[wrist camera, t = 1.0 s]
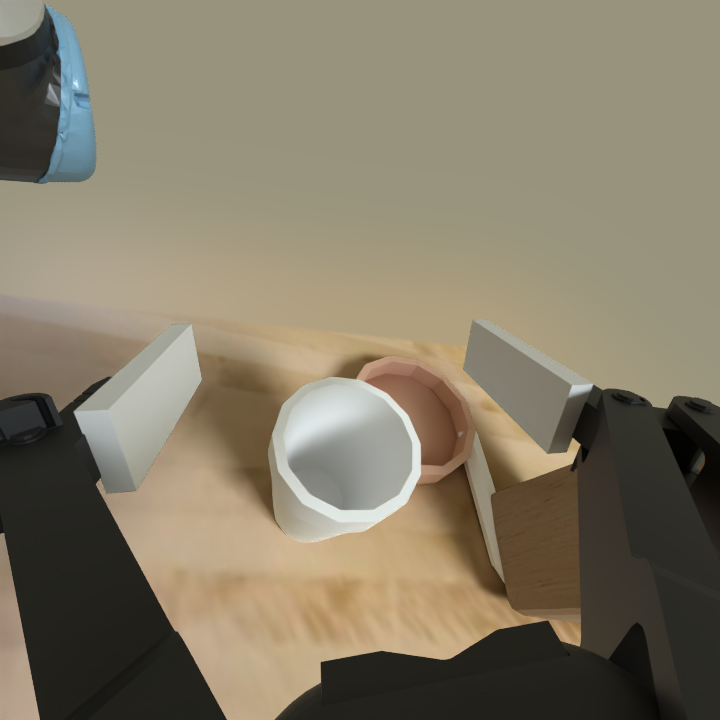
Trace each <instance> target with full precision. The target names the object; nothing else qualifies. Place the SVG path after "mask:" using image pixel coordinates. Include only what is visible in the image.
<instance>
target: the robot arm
mask: <svg viewBox="0 0 720 720" xmlns="http://www.w3.org/2000/svg"><path fill="white" fill-rule="evenodd" d="M89 102H90V97H89V90H88V81H87V76H86V70H85V66H84V61H83V56H82V52H81V48H80V44H79V41H78V38H77V35H76V32H75V29H74V27H73V25H72V23H71V22H70V21H69V19H68V18H66V16H64V15H62V14H61V13H59V12H57V11H55V10H54V9H52V8H50V6H47V5H44V1H43V0H0V180H8V181H9V180H10V181H22V182H34V183H39V184H43V183H47V182H81V181H85V180H87V179H89V178H90V177H91V176H92V174H93V173H94V171H95V167H96V140H95V129H94V121H93V114H92V110H91V107H90V104H89ZM463 370H464V371H465V372H466V373H467V374H468V375H469V376H470V377H471V378H472V379H473V380H474V381H475V382H476V383H477V384H478V385H479V386H480V387H481V388H482V389H483V390H484V391H485V392H486V393H487V394H488V395H489V396H490V397H491V398H492V399H493V400H494V401H495V402H496V403H497V404H498V405H499V406H500V407H501V408H502V409H503V410H504V411H505V412H506V413H507V414H508V415H509V416H510V417H511V418H512V419H513V420H514V421H515V422H516V423H517V424H518V425H519V426H520V427H521V428H522V429H523V430H524V431H525V432H526V433H527V434H528V435H529V436H530V437H531V438H532V439H533V440H534V441H535V442H536V443H537V444H538V445H539V446H540V447H541V448H542V449H543V450H544V451H545V452H546V453H547V454H551V453H563V452H567V450H568V447H569V445H570V442H571V440H572V437H573V438H574V439H575V440H576V441H577V442H578V443H580V444H581V445H580V448H579V450H578V453H577V455H576V457H575V460H574V462H573V465H572V467H571V469H570V471H572V472H574V470H575V469H577V480H578V522H579V563H580V605H581V644H580V647H579V646H575V645H572V644H568V643H565V642H562V641H560V640H559V638H558V636H557V635H556V633H555V631H554V630H553V628H552V626H551V625H550V623H549V621H543V622H537V623H532V624H526V625H521V626H515V627H510V628H504V629H499V630H496V631H495V632H493V633H491V634H490V635H488V636H487V637H485V638H483V639H482V640H480V641H478V642H477V643H475V644H474V645H472V646H470V647H469V648H467V649H466V650H464V651H462V652H461V653H459V654H458V655H456V656H454V657H453V658H451V659H447V660H440V659H433V658H426V657H419V656H412V655H406V654H399V653H392V652H385V651H379V652H373V653H368V654H362V655H357V656H351V657H346V658H340V659H335V660H330V661H324V662H321V683H320V684H318V685H316V686H315V687H313V688H311V689H309V690H308V691H306V692H305V693H304V694H302V695H301V696H300V697H298V698H297V699H296V700H294V701H293V702H292V703H291V704H290V705H289V706H288V707H287V708H286V709H285V710H284V711H283V712H282V713H281V714H280V715H279V716H278V717H277V718H276V719H275V720H720V407H718V406H716V405H714V404H712V403H711V402H709V401H706V400H703V399H700V398H692V397H686V396H676V397H674V398H673V399H672V401H671V403H670V405H669V407H668V409H664V408H656V407H653V406H652V404H651V403H650V402H648V400H646V399H645V398H643V397H641V396H638V395H637V394H634V393H632V392H629V391H625V390H619V389H605V390H601V389H600V388H598V387H596V386H595V385H593V384H592V383H591V382H589V381H587V380H586V379H584V378H582V377H581V376H579V375H577V374H575V373H574V372H572V371H571V370H569V369H567V368H566V367H564V366H563V365H561V364H559V363H558V362H556V361H554V360H553V359H551V358H549V357H548V356H546V355H544V354H543V353H541V352H539V351H538V350H536V349H534V348H533V347H531V346H529V345H528V344H526V343H524V342H523V341H521V340H520V339H518V338H516V337H515V336H513V335H511V334H510V333H508V332H506V331H504V330H503V329H501V328H500V327H498V326H496V325H495V324H493V323H491V322H490V321H488V320H472V325H471V331H470V336H469V341H468V346H467V351H466V356H465V362H464V367H463ZM201 381H202V377H201V372H200V367H199V362H198V357H197V352H196V346H195V341H194V336H193V331H192V326H191V324H172V325H171V326H170V327H168V328H167V329H166V330H165V331H164V332H163V333H162V334H161V335H159V336H158V337H157V338H156V339H155V340H154V341H153V342H152V343H150V344H149V345H148V346H147V347H146V348H145V349H144V350H143V351H141V352H140V353H139V354H138V355H137V356H136V357H135V358H134V359H132V360H131V361H130V362H129V363H128V364H127V365H126V366H124V367H123V368H122V369H121V370H120V371H119V372H118V373H117V374H115V375H114V376H113V377H107V378H105V379H103V380H101V381H99V382H97V383H95V384H93V385H91V386H90V387H89V388H88V389H87V390H85V391H84V392H83V393H82V395H79V396H78V397H77V398H76V399H75V400H74V402H71V403H70V404H69V405H67V406H66V407H65V408H64V409H63V410H62V411H60V412H59V413H58V411H57V409H56V406H55V404H54V402H53V400H52V397H51V396H49V395H48V394H43V393H31V394H23V395H18V396H13V397H9V398H6V399H3V400H0V534H1V533H4V534H5V539H6V544H7V550H8V555H9V560H10V565H11V571H12V576H13V581H14V586H15V591H16V597H17V602H18V607H19V612H20V617H21V623H22V628H23V633H24V638H25V643H26V649H27V654H28V659H29V664H30V669H31V675H32V680H33V685H34V690H35V695H36V701H37V706H38V711H39V716H40V720H227V719H226V717H225V716H224V714H223V712H222V710H221V708H220V706H219V705H218V703H217V701H216V699H215V697H214V695H213V694H212V692H211V690H210V688H209V686H208V684H207V683H206V681H205V679H204V677H203V675H202V673H201V672H200V670H199V668H198V666H197V664H196V663H195V661H194V659H193V657H192V655H191V653H190V652H189V650H188V648H187V646H186V645H185V643H184V641H183V639H182V638H181V636H180V635H179V633H178V632H175V630H174V629H173V627H172V626H171V624H170V622H169V620H168V618H167V617H166V615H165V613H164V611H163V609H162V607H161V605H160V603H159V602H158V600H157V598H156V596H155V594H154V592H153V590H152V589H151V587H150V585H149V583H148V581H147V579H146V577H145V576H144V574H143V572H142V570H141V568H140V566H139V564H138V563H137V561H136V559H135V557H134V555H133V553H132V551H131V550H130V548H129V546H128V544H127V542H126V540H125V538H124V537H123V535H122V533H121V531H120V529H119V527H118V525H117V524H116V522H115V520H114V518H113V516H112V514H111V512H110V510H109V509H108V507H107V505H106V503H105V501H104V499H103V497H102V496H101V494H100V492H99V490H98V488H97V486H96V483H97V482H98V480H99V479H100V478H101V481H102V483H103V485H104V488H105V490H106V493H107V494H108V493H119V492H130V491H137V490H138V488H139V486H140V484H141V483H142V481H143V479H144V478H145V476H146V474H147V473H148V471H149V469H150V467H151V466H152V464H153V462H154V461H155V459H156V457H157V456H158V454H159V452H160V450H161V449H162V447H163V445H164V444H165V442H166V440H167V439H168V437H169V435H170V433H171V432H172V430H173V428H174V427H175V425H176V423H177V422H178V420H179V418H180V416H181V415H182V413H183V411H184V410H185V408H186V406H187V405H188V403H189V401H190V399H191V398H192V396H193V394H194V393H195V391H196V389H197V388H198V386H199V384H200V382H201ZM704 457H705V464H704V466H703V468H702V470H701V471H699V470H698V469H697V468H698V466H699V465H700V463H701V461H702V460H703V458H704ZM321 691H322V695H321Z"/></svg>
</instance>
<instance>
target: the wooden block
mask: <svg viewBox="0 0 720 720" xmlns="http://www.w3.org/2000/svg"><path fill="white" fill-rule="evenodd" d="M704 464H705V457H704V458H703V460H702V461H701V463H700V465H699V466H698V468H697V469H698V470H699V471H701V470H702V468H703V466H704ZM572 465H573V464H571V465H568V466H565V467H563V468H560V469H557V470H555V471H552V472H549V473H546V474H544V475H541V476H538V477H536V478H533V479H530V480H528V481H525V482H522V483H519V484H517V485H514V486H511V487H509V488H506V489H503V490H500V491H498V492H495V493H493V494H492V495H491V505H492V513H493V521H494V528H495V534H496V539H497V544H498V549H499V555H500V560H501V565H502V570H503V575H504V581H505V586H506V591H507V596H508V600H509V603H510V605H511V607H512V609H514V610H515V611H517V612H519V613H521V614H522V615H525V616H532V617H539V618H546V619H554V620H561V621H568V622H575V623H581V605H580V563H579V522H578V480H577V469H575V470H574V472H572V471H570V469H571V467H572Z"/></svg>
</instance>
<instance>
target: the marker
mask: <svg viewBox="0 0 720 720" xmlns="http://www.w3.org/2000/svg"><path fill="white" fill-rule="evenodd" d="M462 433H463V432H459V433H458V437H461V435H462ZM464 465H465V469H466V473H467V477H468V480H469V484H470V488H471V491H472V495H473V499H474V503H475V506H476V510H477V514H478V517H479V521H480V525H481V528H482V532H483V536H484V540H485V543H486V547H487V551H488V554H489V558H490V562H491V566H494V568H495V569H496V571H497V573H498V574H499V576H500V577H501V579H502V580H503V582H504V585H505V581H504V575H503V570H502V565H501V560H500V555H499V549H498V544H497V539H496V534H495V528H494V521H493V513H492V505H491V495H492V494H493V493H495V492H496V491H495V488H494V485H493V481H492V478H491V475H490V472H489V469H488V465H487V462H486V459H485V456H484V453H483V449H482V446H481V443H480V440H479V437H478V434H477V431H476V433H475V438H474V442H473V447H472V452H471V457H470V458H469V459H468V460H467V461H465V462H464ZM505 587H506V586H505Z"/></svg>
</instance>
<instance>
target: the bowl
mask: <svg viewBox="0 0 720 720" xmlns="http://www.w3.org/2000/svg"><path fill="white" fill-rule="evenodd" d="M356 379H357V380H362V381H364V382H366V383H368V384H370V385H372V386H374V387H376V388H378V389H380V390H381V391H383V392H385V393H387V394H388V395H389V396H390V397H391V398H392V399H393V400H394V401H395V402H396V403H397V404H398V405H399V406H400V407H401V408H402V409H403V410H404V411H405V412H406V414H407V415H408V416H409V418H410V420H411V423H412V425H413V427H414V430H415V432H416V434H417V437H418V439H419V441H420V443H421V475H420V477H419V479H418V481H417V483H416V485H424V484H429V483H437V482H438V481H440V480H441V479H442V478H444V477H445V476H447V475H448V474H449V473H451V472H452V471H453V470H455V469H456V468H457V467H459V466H460V465H461V464H463V463H464V462H465V461H467V460H468V459H469V458H470V457H471V452H472V447H473V442H474V438H475V433H476V430H475V429H476V428H475V425H474V422H473V419H472V416H471V413H470V410H469V407H468V405H467V402H466V401H465V399H464V397H463V396H462V395H461V394H460V393H459V392H458V390H457V389H456V388H455V387H454V386H453V385H452V383H451V382H450V381H449V380H448V379H447V378H446V376H445V377H444V375H443V374H441V373H439V372H438V371H436V370H434V369H432V368H431V367H429V366H427V365H426V364H424V363H422V362H420V361H419V360H414V359H408V358H401V357H395V356H387V357H384V358H382V359H379V360H376V361H373V362H370V363H367V364H366V365H364V367H363V369H362V370H361V372H360V373H359V375H358V376H357V378H356ZM459 432H463V433H462V435H461V437H458V433H459Z"/></svg>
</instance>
